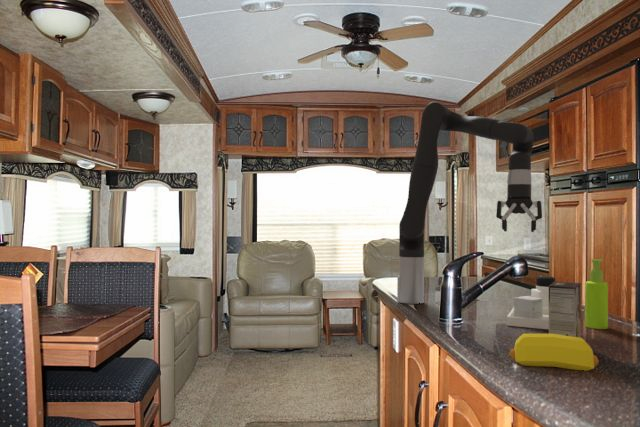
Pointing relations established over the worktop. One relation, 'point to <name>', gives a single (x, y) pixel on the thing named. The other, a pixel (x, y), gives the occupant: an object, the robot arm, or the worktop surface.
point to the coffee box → (565, 309)
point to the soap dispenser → (596, 298)
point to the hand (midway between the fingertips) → (518, 231)
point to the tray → (529, 320)
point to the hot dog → (554, 351)
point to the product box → (528, 307)
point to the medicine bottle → (543, 289)
